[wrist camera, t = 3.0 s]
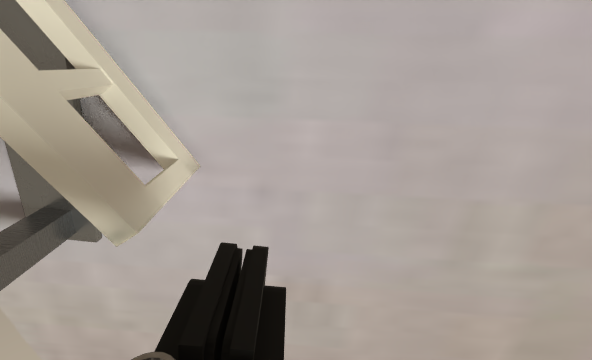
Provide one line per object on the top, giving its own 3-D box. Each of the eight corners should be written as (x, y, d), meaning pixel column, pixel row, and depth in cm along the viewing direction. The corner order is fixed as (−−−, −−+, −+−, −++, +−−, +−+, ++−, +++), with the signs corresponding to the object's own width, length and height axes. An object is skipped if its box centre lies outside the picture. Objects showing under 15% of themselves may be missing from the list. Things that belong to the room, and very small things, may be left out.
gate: (12, -30, 18) (-275, -123, 9) (26, -46, 18) (-255, -158, 9) (186, 175, 24) (116, 246, 15) (200, 166, 24) (137, 233, 14)
